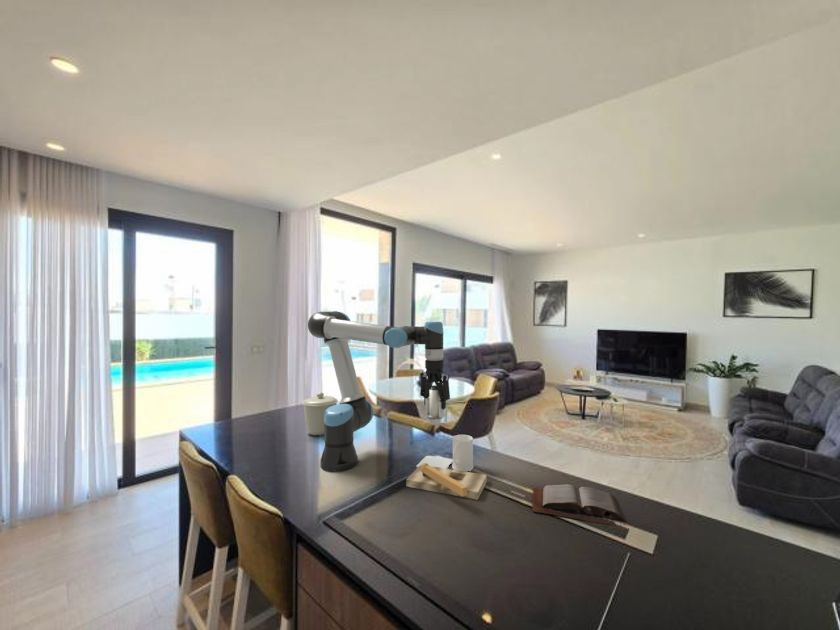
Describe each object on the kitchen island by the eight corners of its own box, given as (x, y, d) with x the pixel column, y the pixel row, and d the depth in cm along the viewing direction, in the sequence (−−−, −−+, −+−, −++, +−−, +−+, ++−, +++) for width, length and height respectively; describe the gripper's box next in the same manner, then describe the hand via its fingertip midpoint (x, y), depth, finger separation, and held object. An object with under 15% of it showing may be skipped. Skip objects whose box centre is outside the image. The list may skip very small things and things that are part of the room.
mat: (416, 467, 148) (415, 466, 148) (426, 456, 159) (426, 455, 159) (444, 472, 144) (444, 470, 144) (453, 460, 155) (453, 459, 155)
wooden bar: (419, 471, 136) (419, 464, 136) (425, 469, 137) (425, 462, 137) (461, 497, 116) (461, 488, 116) (467, 494, 118) (467, 486, 118)
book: (634, 532, 105) (634, 516, 105) (531, 513, 114) (531, 498, 114) (620, 502, 124) (620, 489, 124) (533, 488, 133) (533, 475, 133)
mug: (461, 477, 139) (460, 445, 139) (443, 471, 145) (442, 440, 145) (477, 467, 148) (477, 437, 148) (460, 461, 154) (459, 432, 154)
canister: (333, 438, 184) (333, 396, 184) (297, 438, 184) (296, 396, 184) (341, 427, 202) (341, 388, 202) (308, 427, 202) (308, 388, 202)
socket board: (406, 486, 132) (406, 475, 132) (421, 470, 145) (420, 461, 145) (477, 499, 122) (477, 488, 122) (486, 481, 135) (486, 471, 135)
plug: (424, 425, 149) (424, 386, 149) (430, 420, 156) (429, 383, 155) (440, 426, 147) (439, 388, 147) (445, 422, 153) (444, 384, 153)
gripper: (410, 358, 155) (411, 413, 155) (447, 362, 142) (448, 421, 142) (422, 356, 160) (423, 409, 161) (459, 360, 147) (459, 417, 147)
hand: (434, 415), depth 151 cm, fingers closed on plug, 6 cm apart
